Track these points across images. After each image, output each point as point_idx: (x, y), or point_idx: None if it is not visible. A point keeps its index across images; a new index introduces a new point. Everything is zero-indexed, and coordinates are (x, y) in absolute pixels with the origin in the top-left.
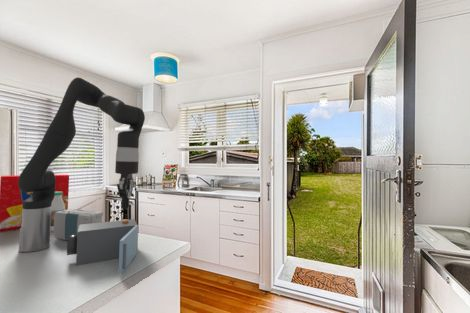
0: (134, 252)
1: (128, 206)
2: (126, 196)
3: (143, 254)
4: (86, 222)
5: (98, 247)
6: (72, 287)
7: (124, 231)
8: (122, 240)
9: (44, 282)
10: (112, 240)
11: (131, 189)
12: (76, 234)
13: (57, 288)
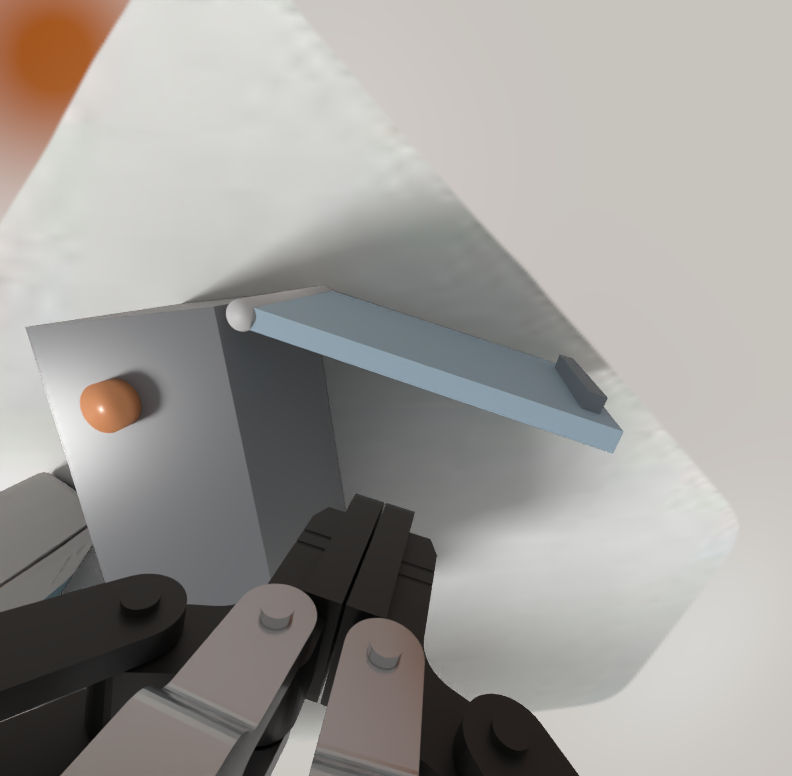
0: (365, 306)
1: (389, 511)
2: (548, 740)
3: (318, 248)
4: (1, 608)
5: (315, 504)
6: (566, 544)
7: (256, 396)
8: (621, 434)
9: (472, 629)
10: (291, 449)
11: (217, 758)
12: (50, 594)
13: (547, 588)
